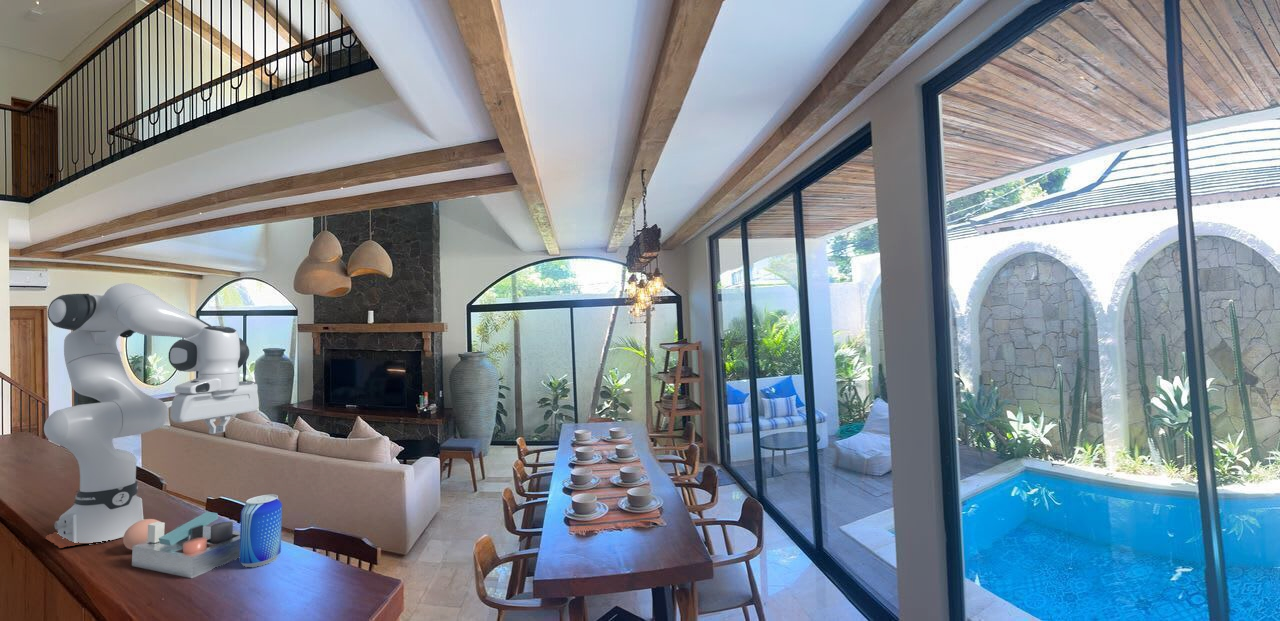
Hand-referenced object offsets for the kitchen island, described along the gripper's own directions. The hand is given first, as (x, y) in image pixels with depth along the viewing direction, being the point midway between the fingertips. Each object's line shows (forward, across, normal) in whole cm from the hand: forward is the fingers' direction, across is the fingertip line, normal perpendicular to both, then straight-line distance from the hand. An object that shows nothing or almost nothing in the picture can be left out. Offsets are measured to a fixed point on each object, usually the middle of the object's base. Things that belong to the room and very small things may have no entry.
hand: (217, 433), depth 135 cm
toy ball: (+31, +7, -16) cm, 36 cm away
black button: (+29, +4, +10) cm, 31 cm away
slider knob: (+26, +11, -5) cm, 28 cm away
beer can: (+31, +3, +22) cm, 38 cm away
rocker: (+23, +7, +2) cm, 24 cm away
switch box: (+31, +7, +4) cm, 32 cm away
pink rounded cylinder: (+30, +10, +10) cm, 34 cm away
